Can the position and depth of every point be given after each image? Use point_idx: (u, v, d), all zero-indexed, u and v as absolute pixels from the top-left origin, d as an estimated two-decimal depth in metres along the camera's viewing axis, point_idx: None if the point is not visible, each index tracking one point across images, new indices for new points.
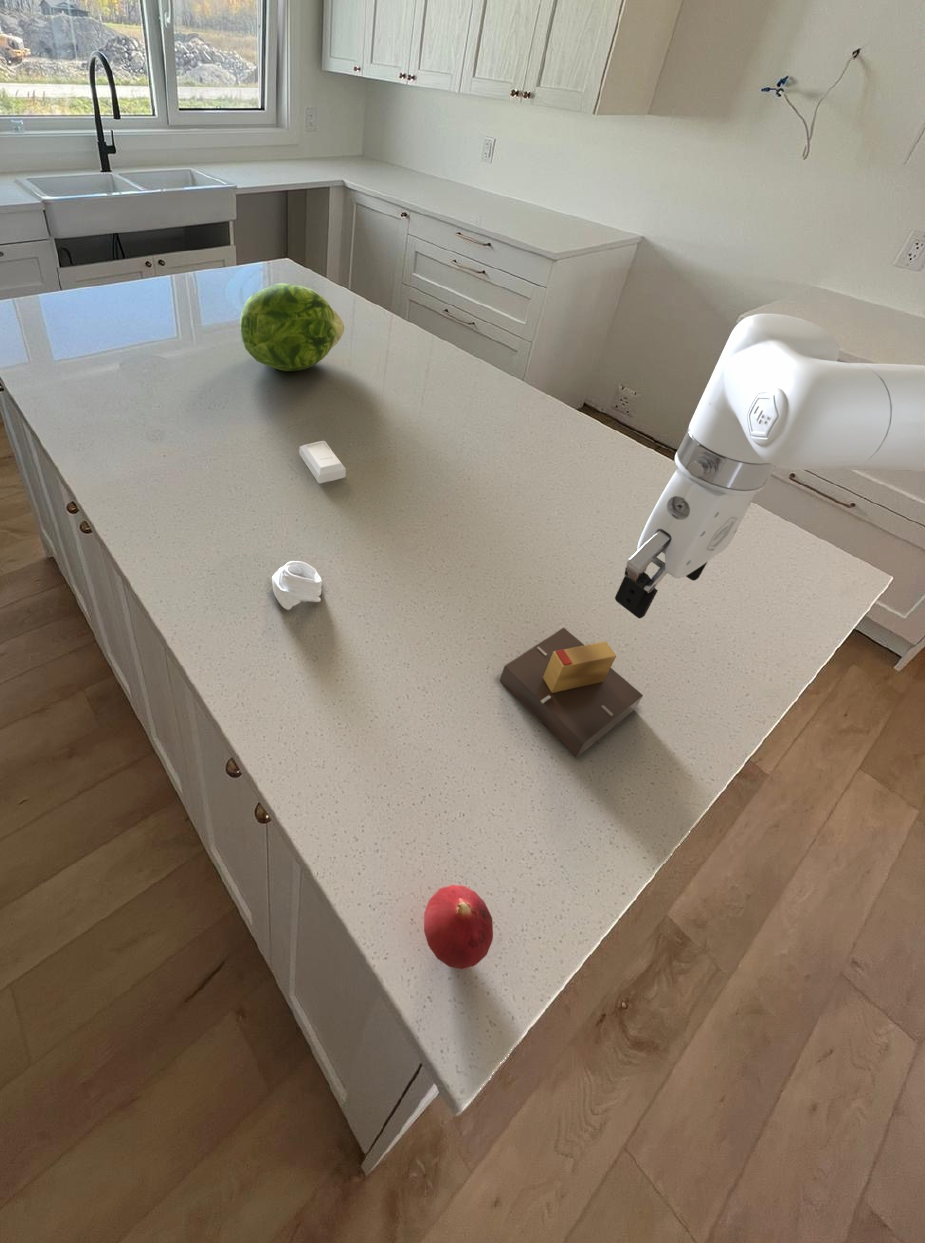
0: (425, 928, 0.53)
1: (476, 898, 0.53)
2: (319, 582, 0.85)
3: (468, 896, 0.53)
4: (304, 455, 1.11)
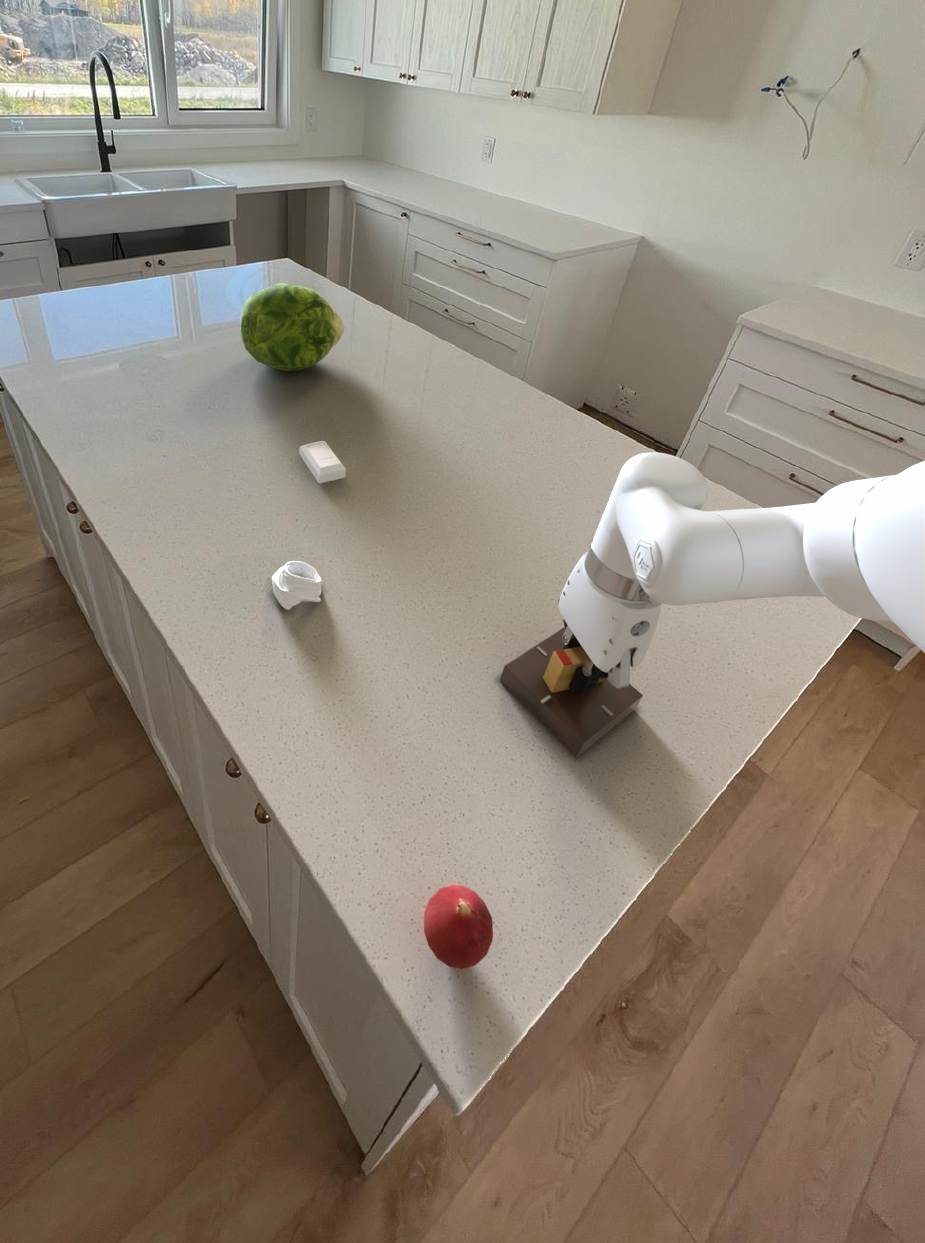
0: (425, 928, 0.53)
1: (476, 898, 0.53)
2: (319, 582, 0.85)
3: (468, 896, 0.53)
4: (304, 455, 1.11)
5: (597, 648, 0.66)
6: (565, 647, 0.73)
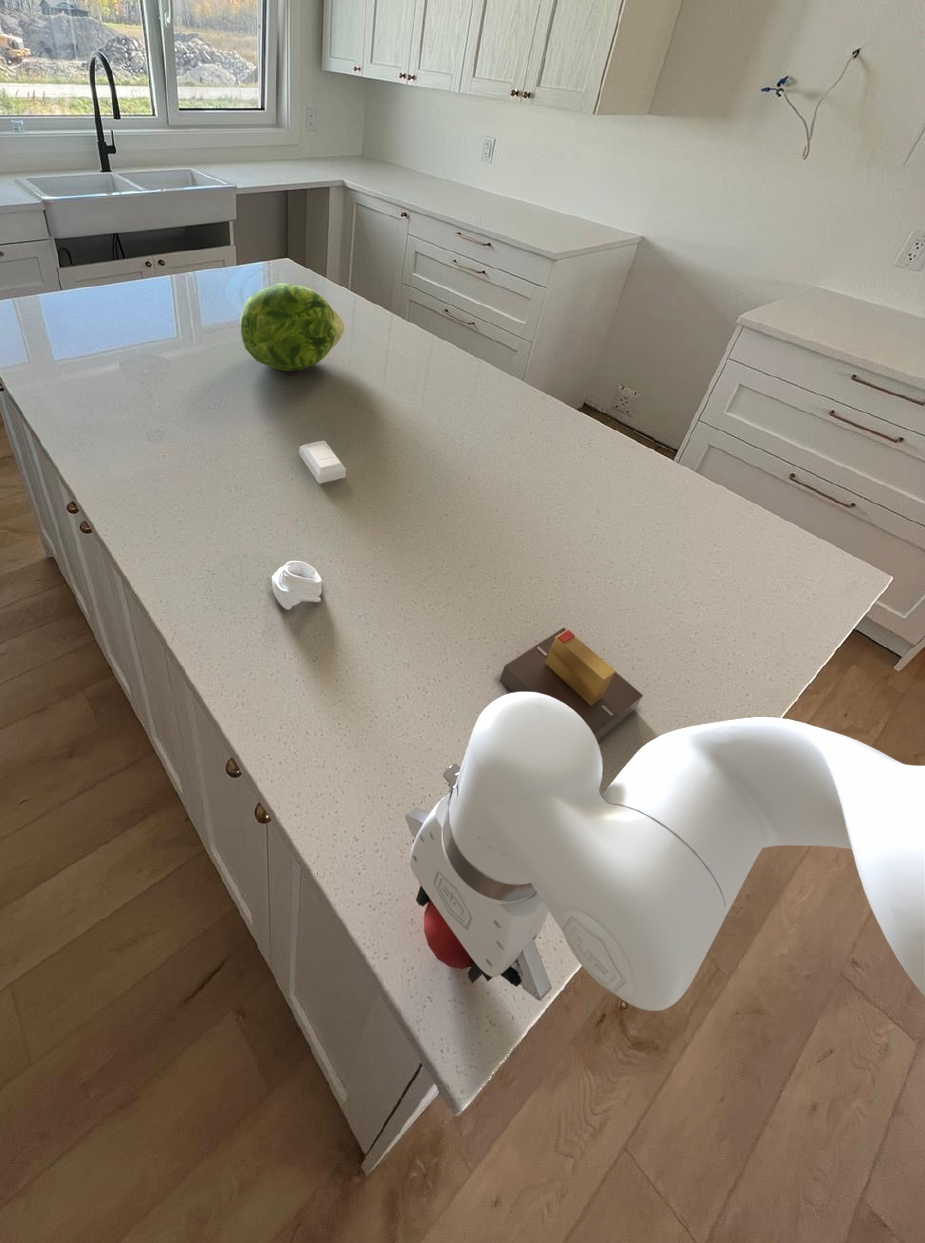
0: (425, 928, 0.53)
1: None
2: (319, 582, 0.85)
3: None
4: (304, 455, 1.11)
5: None
6: None
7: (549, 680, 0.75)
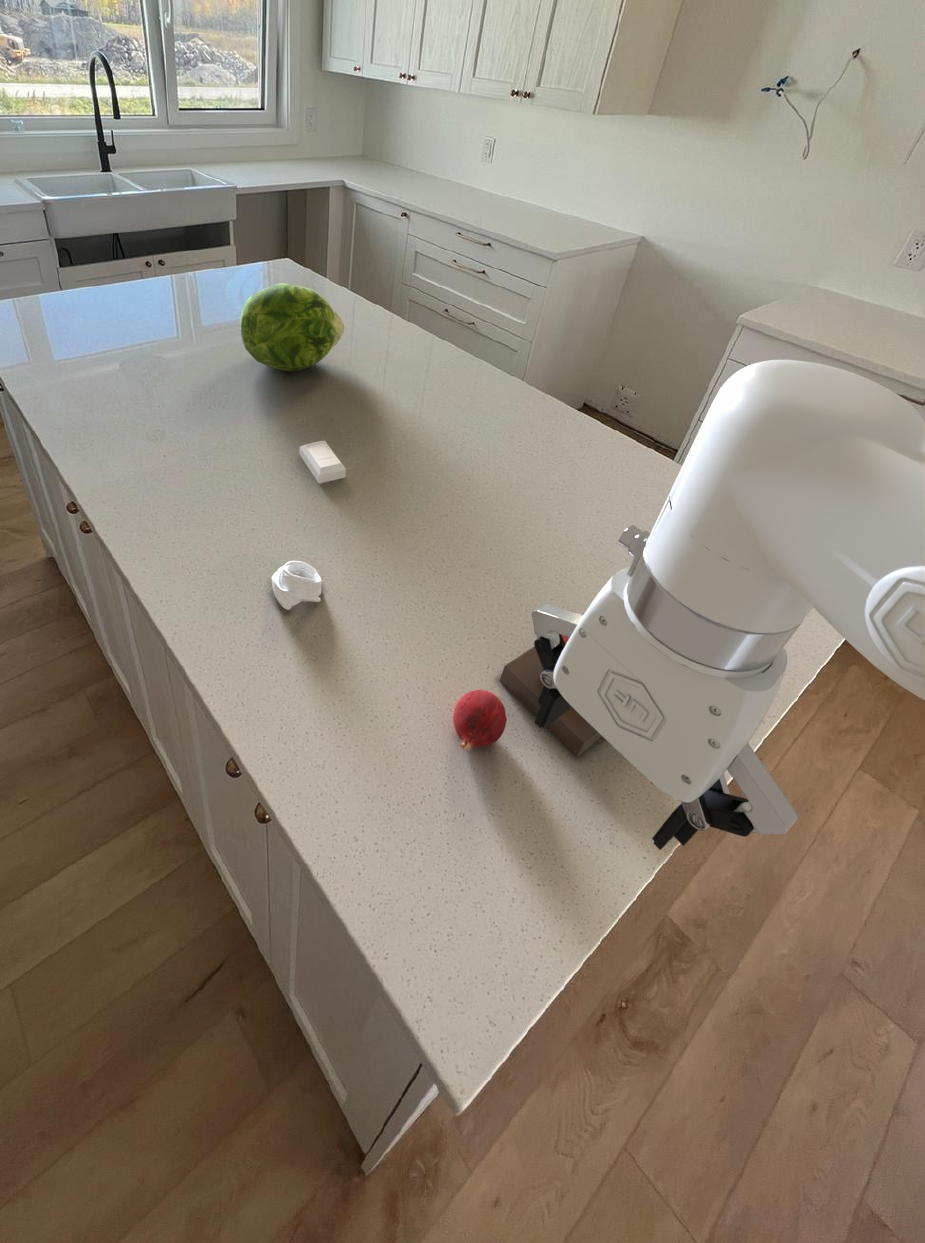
0: None
1: (462, 723, 0.69)
2: (319, 582, 0.85)
3: (460, 730, 0.69)
4: (304, 455, 1.11)
5: None
6: None
7: None
